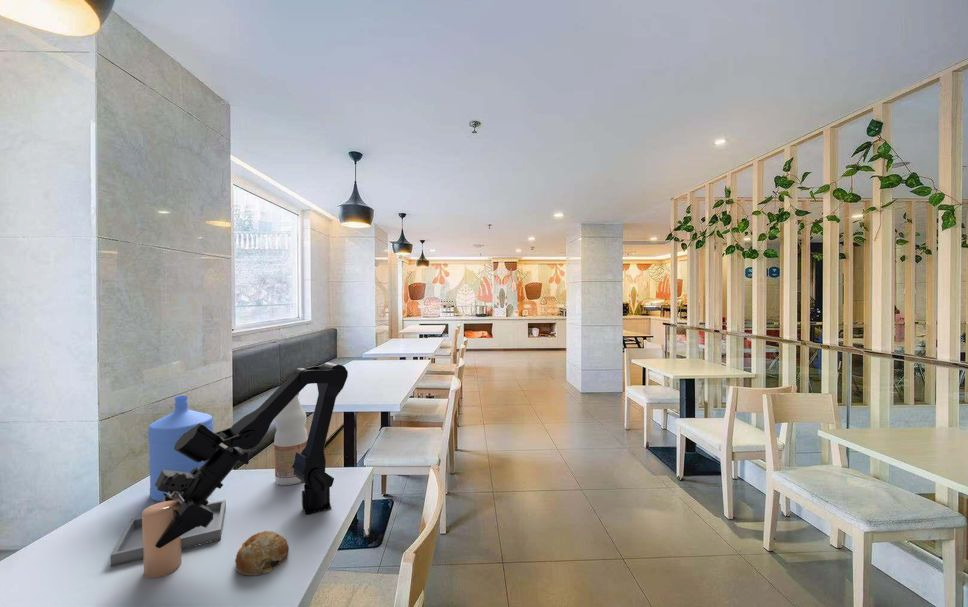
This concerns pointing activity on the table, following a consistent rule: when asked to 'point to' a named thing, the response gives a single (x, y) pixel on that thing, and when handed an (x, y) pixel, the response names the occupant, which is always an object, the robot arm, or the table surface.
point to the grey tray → (133, 536)
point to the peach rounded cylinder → (153, 527)
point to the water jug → (172, 442)
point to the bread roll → (261, 553)
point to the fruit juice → (289, 441)
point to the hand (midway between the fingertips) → (154, 540)
